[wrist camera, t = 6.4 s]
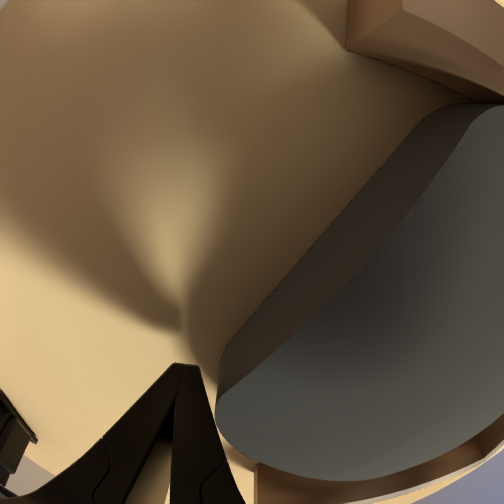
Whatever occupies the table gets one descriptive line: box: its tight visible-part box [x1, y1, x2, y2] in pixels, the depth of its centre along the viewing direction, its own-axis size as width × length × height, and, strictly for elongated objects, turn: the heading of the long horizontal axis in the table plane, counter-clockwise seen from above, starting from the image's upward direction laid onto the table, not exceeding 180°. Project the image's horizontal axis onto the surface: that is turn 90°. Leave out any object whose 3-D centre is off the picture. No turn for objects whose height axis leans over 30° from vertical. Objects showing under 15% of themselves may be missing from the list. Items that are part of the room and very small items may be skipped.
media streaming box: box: [215, 103, 504, 481], centre depth 8 cm, size 15×15×3 cm
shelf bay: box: [254, 0, 504, 504], centre depth 8 cm, size 18×21×3 cm
